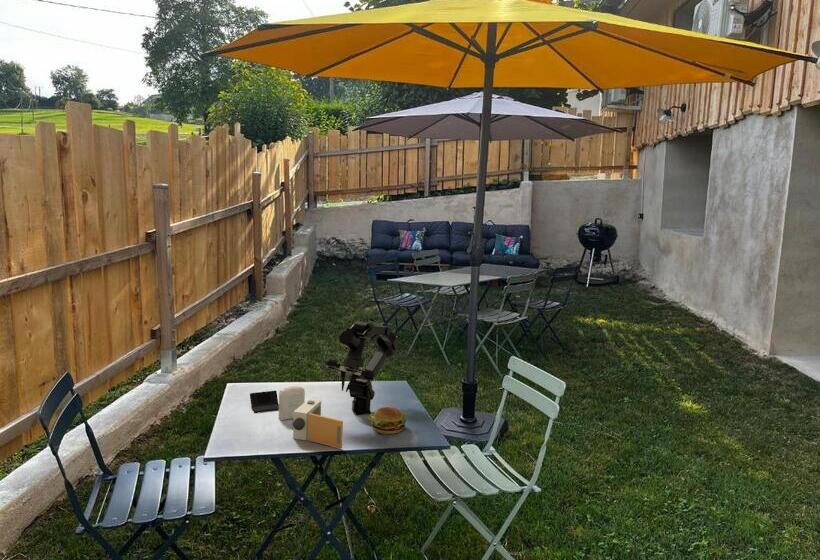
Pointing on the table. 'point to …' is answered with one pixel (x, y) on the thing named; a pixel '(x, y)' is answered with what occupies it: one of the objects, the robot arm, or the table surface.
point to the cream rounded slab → (290, 401)
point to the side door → (324, 430)
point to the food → (387, 420)
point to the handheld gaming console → (264, 401)
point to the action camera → (304, 417)
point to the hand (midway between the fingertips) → (344, 391)
